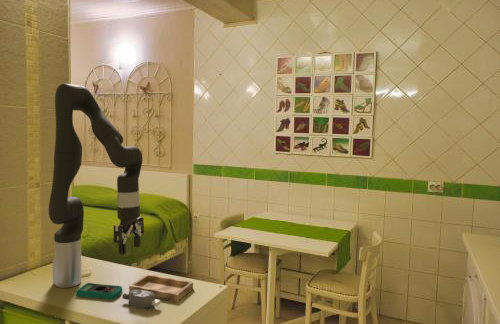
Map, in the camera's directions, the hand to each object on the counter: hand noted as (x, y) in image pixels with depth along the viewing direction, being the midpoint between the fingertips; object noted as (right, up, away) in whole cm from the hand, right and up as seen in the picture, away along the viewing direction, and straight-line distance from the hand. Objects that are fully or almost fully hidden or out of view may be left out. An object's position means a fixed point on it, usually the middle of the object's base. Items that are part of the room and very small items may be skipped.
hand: (130, 250), depth 137 cm
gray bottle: (+4, -19, -2) cm, 19 cm away
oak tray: (+9, -17, +11) cm, 22 cm away
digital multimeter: (-13, -18, +6) cm, 23 cm away
